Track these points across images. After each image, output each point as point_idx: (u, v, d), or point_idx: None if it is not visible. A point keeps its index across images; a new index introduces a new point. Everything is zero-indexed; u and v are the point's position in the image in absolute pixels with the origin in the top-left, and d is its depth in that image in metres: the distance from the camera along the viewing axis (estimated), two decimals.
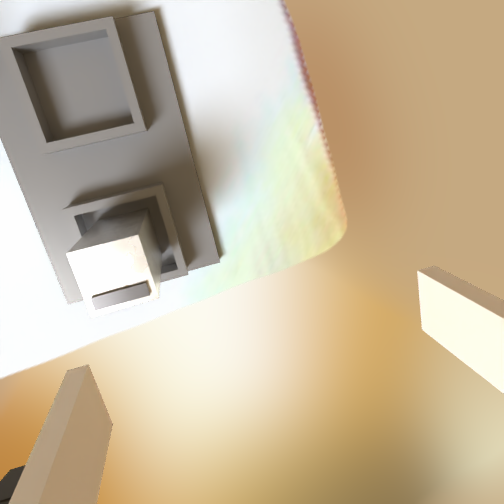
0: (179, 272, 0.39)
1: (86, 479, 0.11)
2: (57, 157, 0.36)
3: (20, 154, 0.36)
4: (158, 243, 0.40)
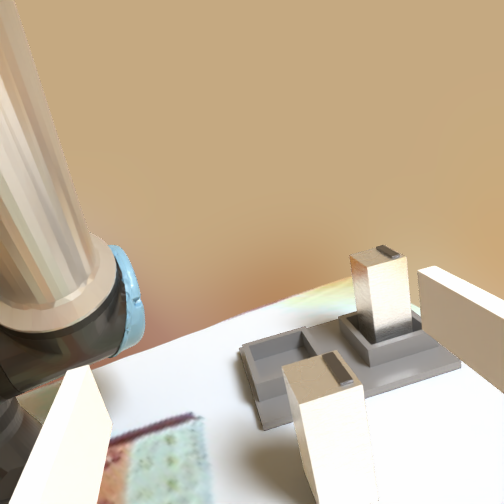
0: None
1: (85, 479, 0.11)
2: None
3: None
4: None
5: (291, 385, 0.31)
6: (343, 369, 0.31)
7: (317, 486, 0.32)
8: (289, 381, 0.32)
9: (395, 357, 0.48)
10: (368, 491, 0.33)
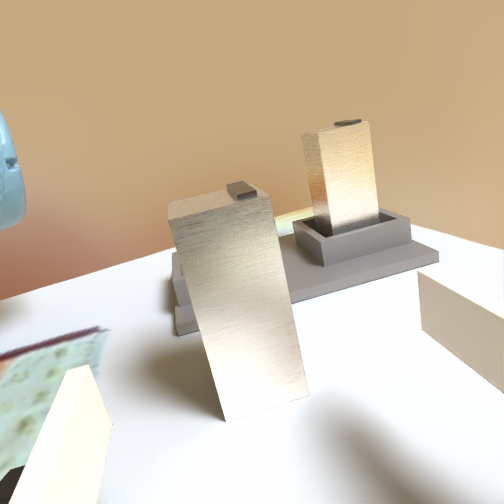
0: None
1: (86, 479, 0.11)
2: None
3: None
4: None
5: (169, 211, 0.21)
6: (247, 187, 0.21)
7: (211, 365, 0.21)
8: (169, 209, 0.21)
9: (356, 254, 0.38)
10: (292, 378, 0.22)
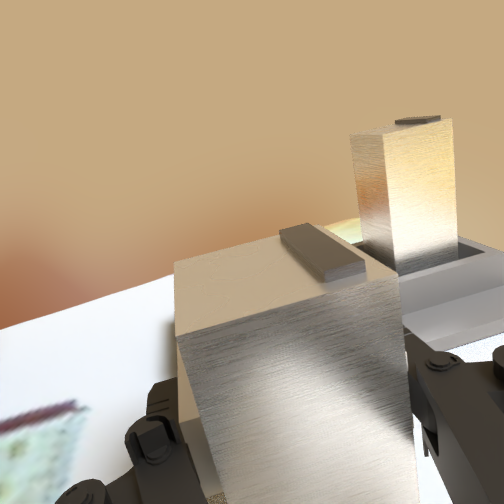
0: None
1: None
2: None
3: None
4: None
5: (177, 293, 0.10)
6: (334, 245, 0.10)
7: None
8: (177, 286, 0.11)
9: (431, 302, 0.27)
10: None
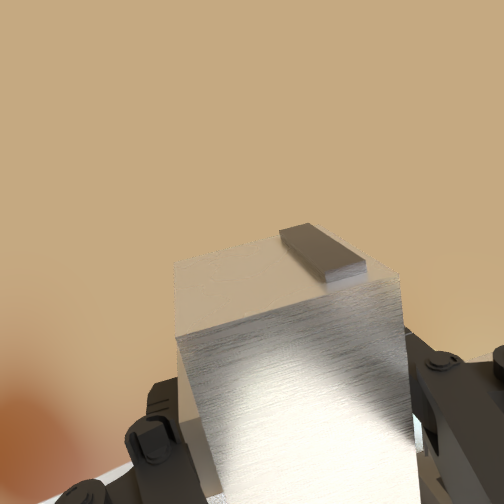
0: None
1: None
2: None
3: None
4: None
5: (177, 294, 0.10)
6: (335, 245, 0.10)
7: None
8: (177, 286, 0.11)
9: None
10: None
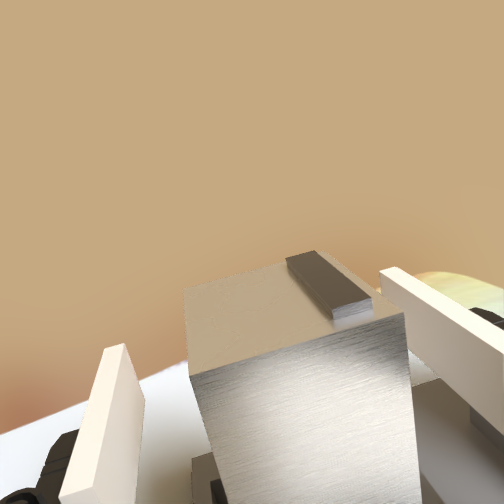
0: None
1: (129, 444, 0.12)
2: None
3: None
4: None
5: (188, 326, 0.11)
6: (341, 279, 0.11)
7: None
8: (187, 317, 0.11)
9: None
10: None
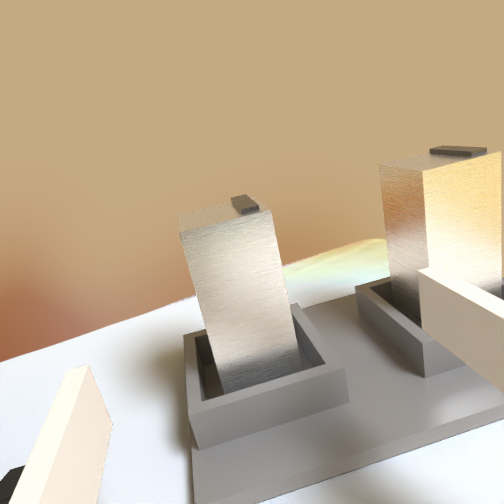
0: None
1: (86, 479, 0.11)
2: (353, 393, 0.24)
3: (360, 433, 0.21)
4: None
5: (179, 223, 0.23)
6: (251, 201, 0.23)
7: (217, 364, 0.23)
8: (179, 221, 0.23)
9: None
10: None
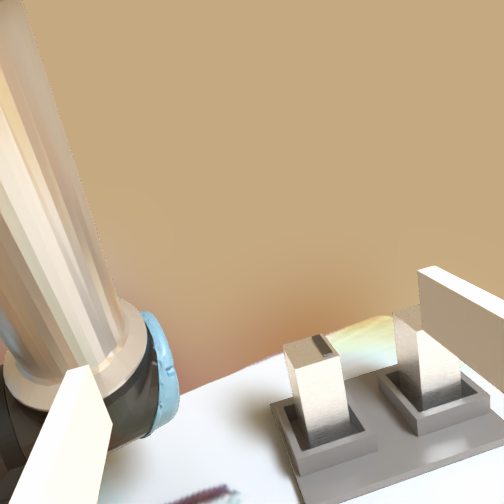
0: None
1: (85, 479, 0.11)
2: (379, 445, 0.45)
3: (385, 469, 0.42)
4: None
5: (289, 357, 0.43)
6: (326, 346, 0.43)
7: (308, 430, 0.44)
8: (287, 355, 0.44)
9: (445, 425, 0.45)
10: (345, 435, 0.45)
